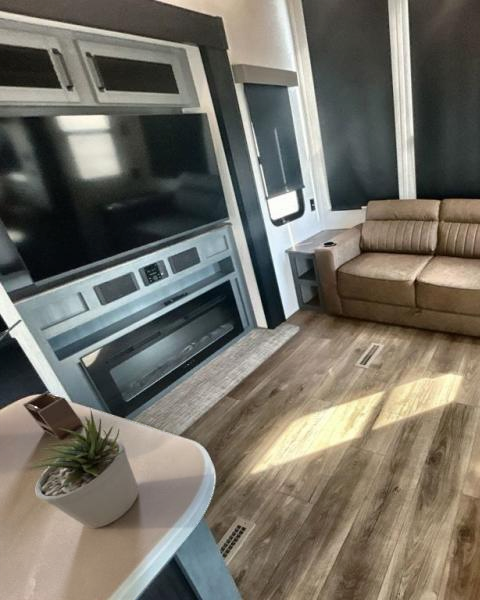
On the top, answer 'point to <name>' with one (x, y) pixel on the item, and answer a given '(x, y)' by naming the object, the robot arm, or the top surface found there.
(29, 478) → the top surface
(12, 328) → the robot arm
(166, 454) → the top surface
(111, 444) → the potted plant
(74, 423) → the brown open box
